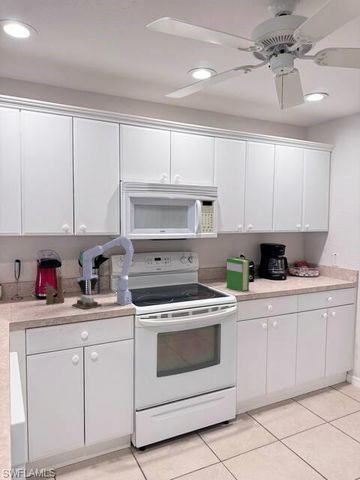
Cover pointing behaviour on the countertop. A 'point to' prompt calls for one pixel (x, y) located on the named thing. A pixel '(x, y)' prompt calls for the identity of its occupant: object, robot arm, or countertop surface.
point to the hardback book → (238, 274)
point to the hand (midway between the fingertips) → (87, 290)
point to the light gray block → (87, 299)
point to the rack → (86, 305)
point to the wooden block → (51, 290)
